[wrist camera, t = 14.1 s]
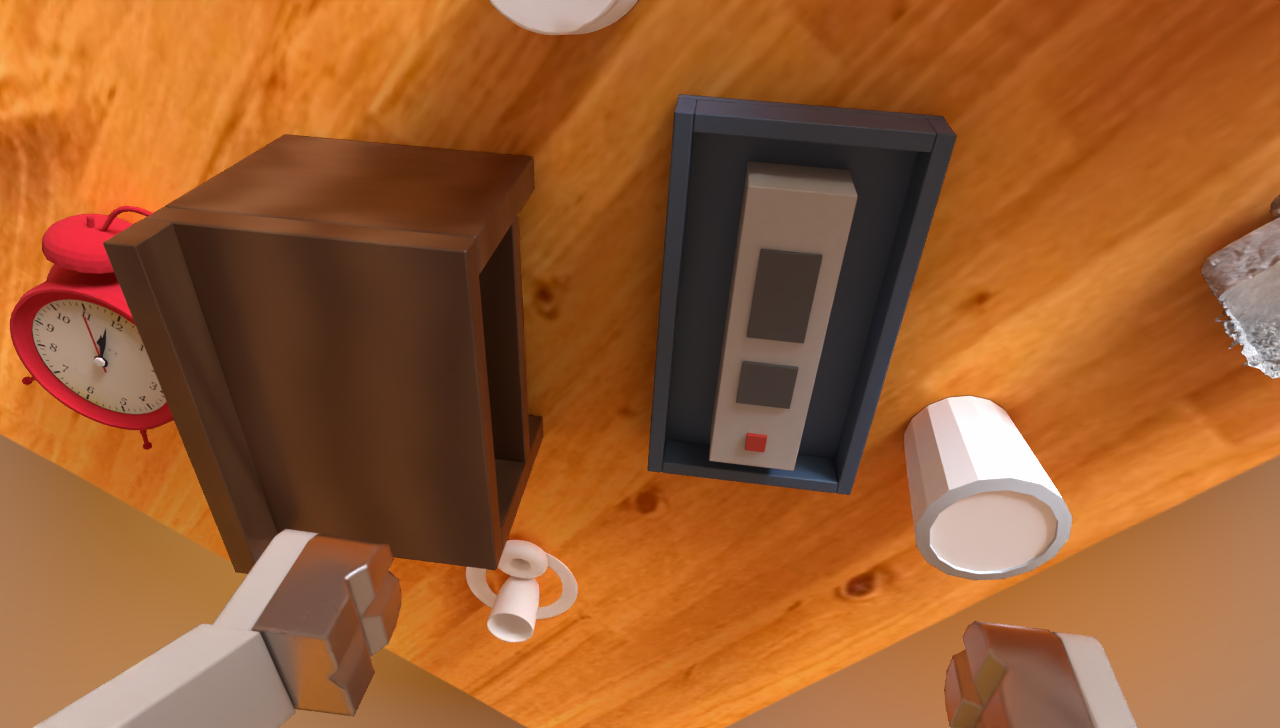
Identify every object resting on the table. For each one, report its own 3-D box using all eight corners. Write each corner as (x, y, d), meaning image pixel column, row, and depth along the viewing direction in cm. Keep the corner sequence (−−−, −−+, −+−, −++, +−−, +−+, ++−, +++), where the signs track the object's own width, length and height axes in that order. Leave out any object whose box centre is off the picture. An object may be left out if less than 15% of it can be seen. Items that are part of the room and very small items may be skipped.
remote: (747, 160, 32) (748, 187, 29) (849, 169, 32) (859, 197, 29) (711, 424, 41) (708, 464, 38) (791, 434, 40) (794, 474, 38)
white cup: (1054, 415, 38) (1108, 513, 33) (973, 499, 42) (1008, 599, 37) (939, 367, 38) (974, 458, 32) (867, 457, 41) (886, 553, 36)
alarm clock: (-15, 379, 41) (-33, 214, 31) (72, 307, 45) (81, 142, 35) (165, 474, 44) (202, 351, 34) (231, 398, 48) (282, 269, 38)
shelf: (533, 156, 34) (446, 278, 24) (543, 437, 44) (484, 605, 34) (284, 133, 35) (101, 242, 25) (348, 414, 44) (235, 572, 35)
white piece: (508, 515, 48) (491, 564, 45) (607, 570, 50) (598, 620, 47) (448, 579, 53) (429, 628, 49) (541, 627, 55) (529, 677, 52)
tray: (943, 115, 31) (957, 135, 29) (845, 463, 42) (850, 495, 40) (679, 94, 31) (674, 111, 29) (652, 440, 43) (647, 471, 41)
